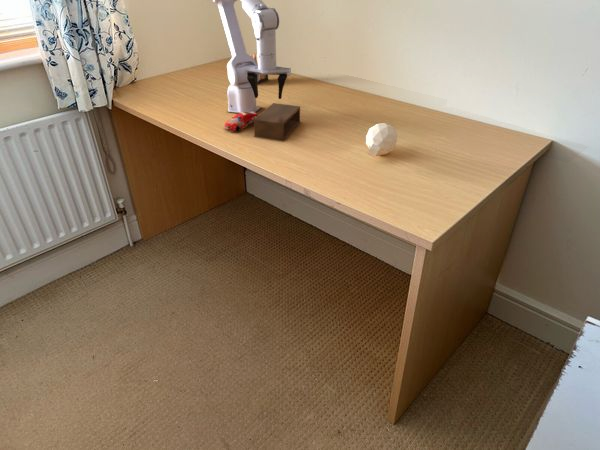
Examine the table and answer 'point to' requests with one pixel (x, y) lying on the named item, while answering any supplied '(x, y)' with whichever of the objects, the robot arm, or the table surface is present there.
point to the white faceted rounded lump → (381, 139)
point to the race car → (240, 121)
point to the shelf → (277, 121)
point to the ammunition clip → (262, 76)
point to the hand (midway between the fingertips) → (268, 97)
